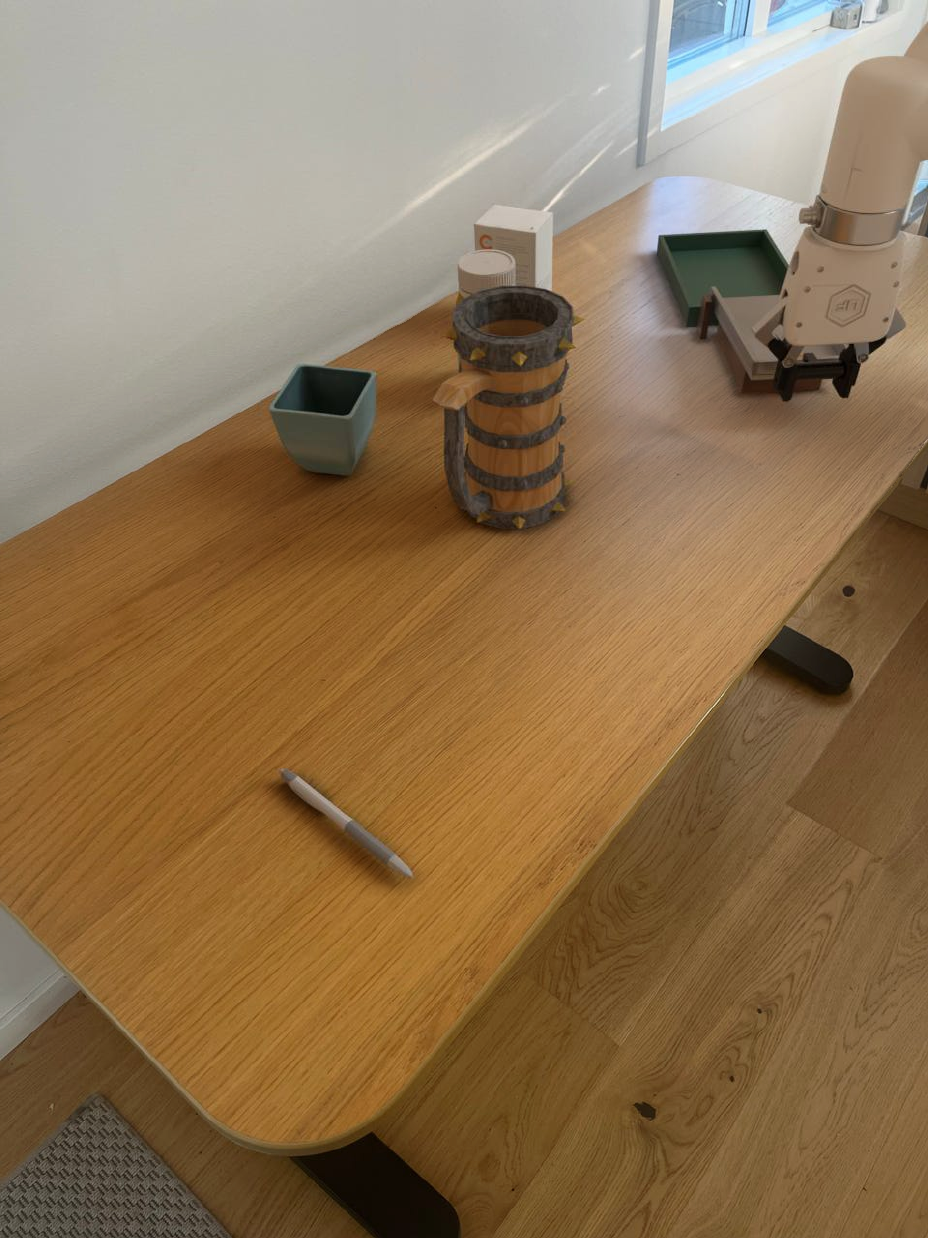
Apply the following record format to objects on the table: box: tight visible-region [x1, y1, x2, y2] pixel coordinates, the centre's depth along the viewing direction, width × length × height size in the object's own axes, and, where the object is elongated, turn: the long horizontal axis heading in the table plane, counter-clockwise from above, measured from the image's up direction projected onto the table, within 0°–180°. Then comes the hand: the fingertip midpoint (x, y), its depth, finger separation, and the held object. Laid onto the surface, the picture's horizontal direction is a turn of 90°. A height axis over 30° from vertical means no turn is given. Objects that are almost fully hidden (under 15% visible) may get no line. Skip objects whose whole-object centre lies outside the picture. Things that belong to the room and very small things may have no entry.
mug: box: [432, 285, 586, 530], centre depth 85 cm, size 13×17×20 cm
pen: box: [278, 767, 414, 879], centre depth 66 cm, size 1×14×1 cm, turn 49°
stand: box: [696, 294, 823, 394], centre depth 108 cm, size 14×13×5 cm
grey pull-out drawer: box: [710, 287, 848, 381], centre depth 102 cm, size 24×11×3 cm, turn 2°
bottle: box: [455, 249, 515, 365], centre depth 102 cm, size 7×7×15 cm
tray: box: [656, 228, 790, 328], centre depth 122 cm, size 21×15×3 cm
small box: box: [473, 204, 554, 291], centre depth 114 cm, size 8×6×13 cm
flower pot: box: [268, 363, 377, 477], centre depth 95 cm, size 9×9×9 cm
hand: (811, 391), depth 95 cm, fingers closed on grey pull-out drawer, 5 cm apart
